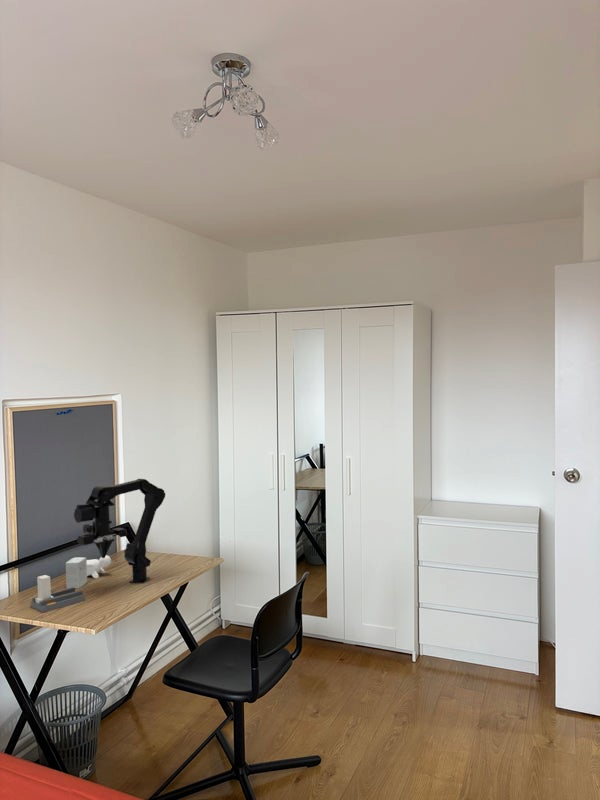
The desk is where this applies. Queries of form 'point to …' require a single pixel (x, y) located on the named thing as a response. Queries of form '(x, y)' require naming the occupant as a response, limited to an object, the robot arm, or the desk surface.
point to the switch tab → (43, 588)
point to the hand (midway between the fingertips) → (103, 557)
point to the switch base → (59, 599)
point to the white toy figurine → (97, 566)
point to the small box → (76, 572)
